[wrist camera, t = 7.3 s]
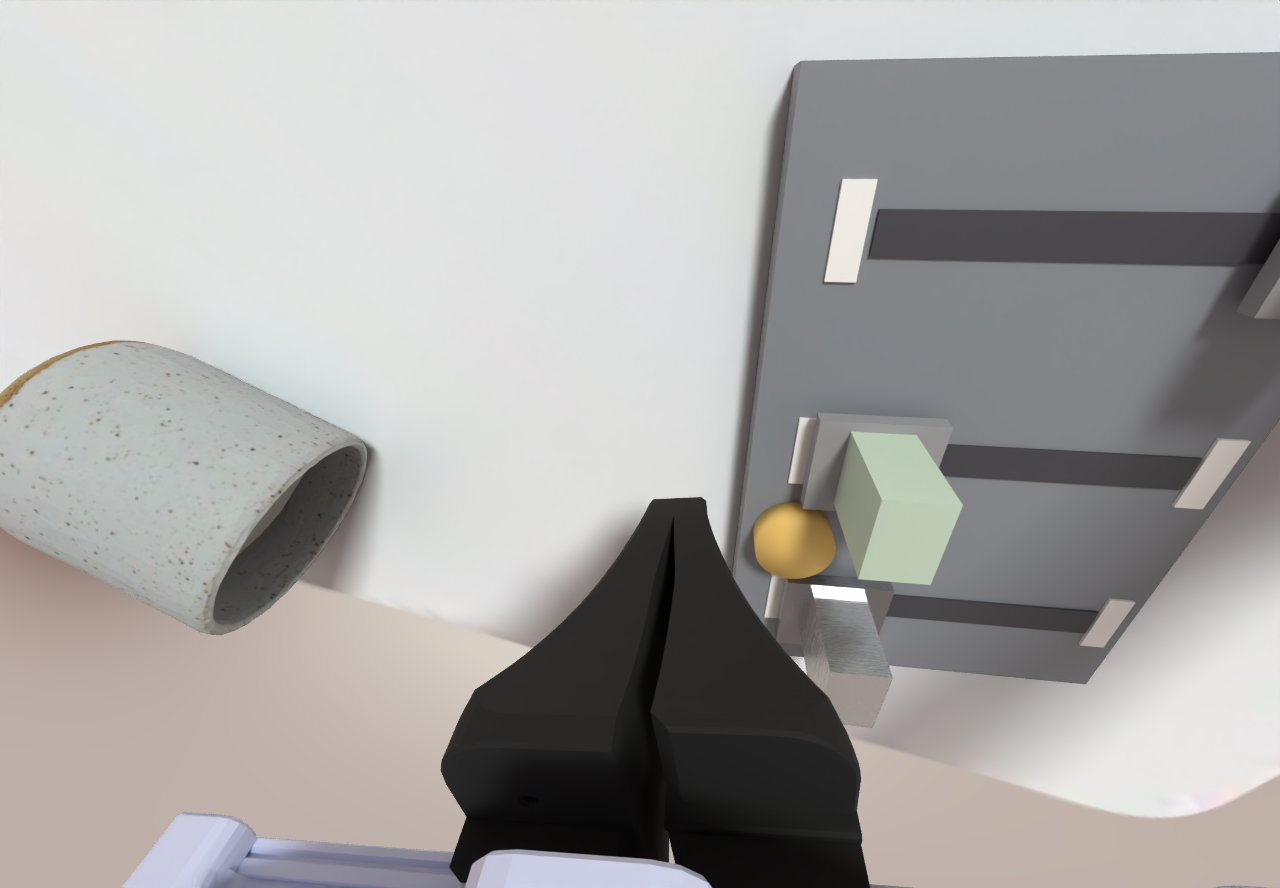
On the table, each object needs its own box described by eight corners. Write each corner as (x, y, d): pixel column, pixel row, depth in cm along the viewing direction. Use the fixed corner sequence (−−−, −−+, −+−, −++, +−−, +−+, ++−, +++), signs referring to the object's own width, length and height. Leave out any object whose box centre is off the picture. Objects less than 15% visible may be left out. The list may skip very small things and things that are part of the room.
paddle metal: (890, 581, 18) (927, 675, 15) (869, 640, 20) (899, 735, 17) (785, 572, 19) (801, 662, 15) (774, 631, 20) (785, 723, 17)
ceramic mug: (164, 295, 18) (-137, 393, 11) (386, 402, 19) (222, 544, 13) (171, 494, 23) (-32, 635, 17) (342, 568, 24) (213, 724, 18)
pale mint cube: (946, 418, 15) (1009, 497, 12) (915, 506, 17) (964, 595, 13) (817, 412, 15) (844, 487, 12) (800, 499, 17) (820, 584, 14)
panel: (1474, 54, 11) (1630, 39, 9) (1067, 657, 21) (1102, 708, 20) (794, 65, 12) (808, 55, 10) (725, 626, 23) (726, 670, 21)
